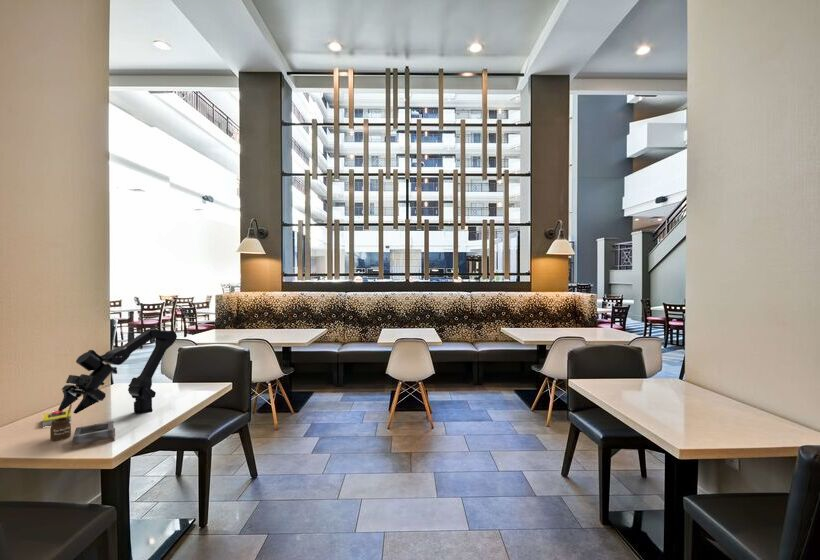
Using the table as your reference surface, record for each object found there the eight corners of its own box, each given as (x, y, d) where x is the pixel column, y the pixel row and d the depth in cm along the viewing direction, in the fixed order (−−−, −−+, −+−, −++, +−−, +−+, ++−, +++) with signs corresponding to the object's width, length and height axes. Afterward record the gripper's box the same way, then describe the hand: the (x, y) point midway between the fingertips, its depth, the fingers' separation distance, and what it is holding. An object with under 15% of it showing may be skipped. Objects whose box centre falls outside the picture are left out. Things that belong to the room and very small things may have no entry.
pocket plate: (115, 430, 158) (114, 420, 158) (114, 440, 148) (114, 429, 148) (74, 438, 151) (74, 427, 151) (71, 449, 141) (71, 437, 141)
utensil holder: (48, 438, 151) (47, 407, 151) (69, 433, 156) (68, 403, 156) (52, 442, 148) (52, 410, 148) (74, 436, 153) (73, 405, 153)
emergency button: (71, 405, 180) (71, 414, 168) (71, 415, 180) (71, 424, 168) (43, 410, 173) (41, 419, 162) (43, 420, 173) (42, 430, 162)
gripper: (67, 364, 162) (33, 399, 152) (97, 367, 156) (65, 403, 145) (88, 379, 170) (58, 413, 159) (118, 382, 163) (88, 418, 153)
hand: (66, 412), depth 154 cm, fingers open, 9 cm apart
